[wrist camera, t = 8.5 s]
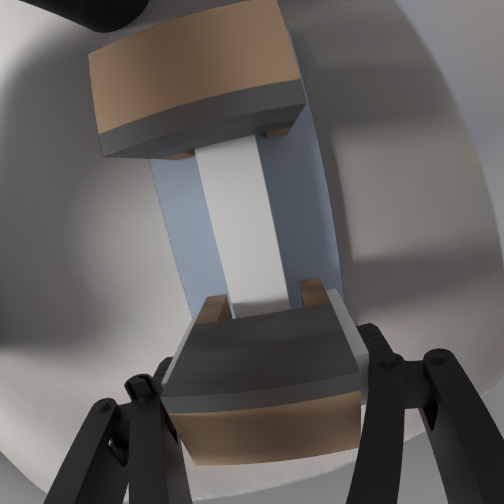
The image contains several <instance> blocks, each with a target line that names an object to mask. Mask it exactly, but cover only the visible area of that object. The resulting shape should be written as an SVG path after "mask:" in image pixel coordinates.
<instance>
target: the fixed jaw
mask: <svg viewBox="0 0 504 504" xmlns="http://www.w3.org/2000/svg"><path fill="white" fill-rule="evenodd" d="M88 60H89V70H90V79H91V88H92V95H93V103H94V110H95V116H96V123H97V129H98V134H99V140H100V145H101V151H102V156H103V157H121V158H144V159H162V160H181V159H184V158H188V157H192V156H196V155H195V150H194V149H195V148H199V147H203V146H207V145H211V144H215V143H219V142H223V141H227V140H231V139H236V138H240V137H245V136H249V135H254V134H259V133H263V132H265V134H266V138H267V139H269V138H274V137H279V136H285V135H287V134H288V133H289V131H290V129H291V128H292V126H293V125H294V123H295V121H296V120H297V118H298V116H299V115H300V113H301V112H302V110H303V108H304V107H305V105H306V104H307V102H306V98H305V94H304V90H303V86H302V82H301V78H300V75H299V71H298V67H297V64H296V60H295V57H294V53H293V50H292V46H291V43H290V40H289V36H288V33H287V30H286V26H285V23H284V20H283V17H282V14H281V11H280V8H279V5H278V2H277V0H249V1H244V2H239V3H234V4H229V5H225V6H220V7H216V8H212V9H208V10H204V11H200V12H197V13H193V14H189V15H186V16H183V17H179V18H176V19H173V20H170V21H167V22H164V23H161V24H158V25H155V26H152V27H150V28H147V29H144V30H142V31H139V32H137V33H134V34H132V35H129V36H127V37H124V38H122V39H120V40H117V41H115V42H113V43H110V44H108V45H106V46H104V47H102V48H100V49H98V50H95V51H93V52H91V53H89V54H88Z"/></svg>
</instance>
